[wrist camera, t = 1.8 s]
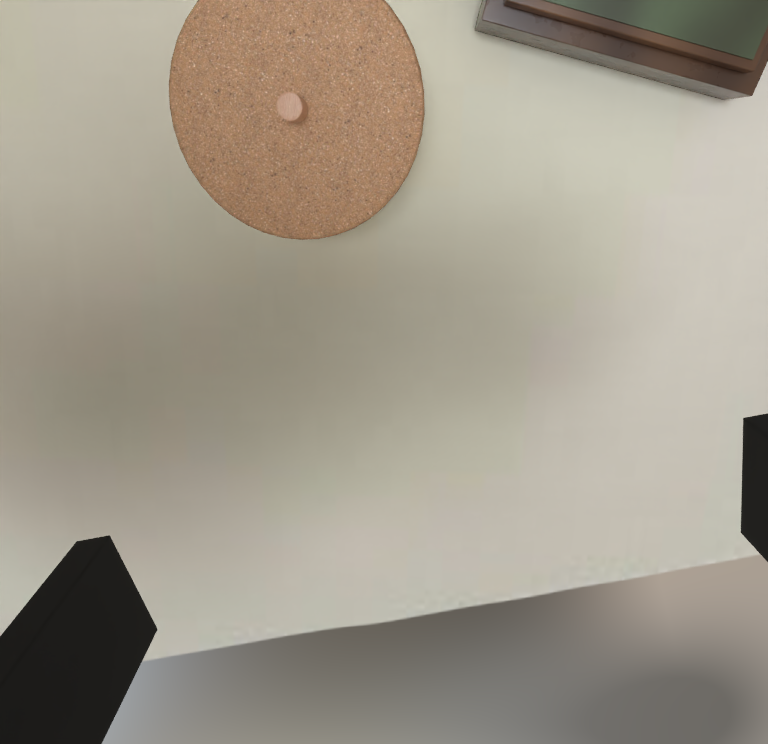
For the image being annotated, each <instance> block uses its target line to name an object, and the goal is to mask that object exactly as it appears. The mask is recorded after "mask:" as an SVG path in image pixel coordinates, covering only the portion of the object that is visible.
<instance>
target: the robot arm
mask: <svg viewBox="0 0 768 744" xmlns="http://www.w3.org/2000/svg"><path fill="white" fill-rule="evenodd" d="M741 533H742V534H743V535H744V536H745V538H746V539H747V540H748V541H749V542H750V543H751V544H752V545H753V546H754V547H755V548H756V550H757V551H758V552H759V553H760V554H761V555H762V556H763V557H764V558H765V559H766V561H767V562H768V414H763V415H758V416H752V417H747V418H744V419H743V464H742V509H741ZM156 631H157V627H156V625H155V623H154V621H153V619H152V618H151V616H150V614H149V612H148V610H147V608H146V606H145V604H144V602H143V600H142V598H141V596H140V594H139V592H138V590H137V588H136V586H135V584H134V582H133V580H132V578H131V576H130V574H129V573H128V571H127V569H126V567H125V565H124V563H123V561H122V559H121V557H120V555H119V553H118V551H117V549H116V547H115V545H114V543H113V541H112V539H111V537H110V535H109V536H104V537H99V538H93V539H88V540H82V541H77V542H76V543H75V544H74V546H73V547H72V548H71V549H70V551H69V552H68V553H67V554H66V556H65V557H64V558H63V559H62V561H61V562H60V563H59V564H58V565H57V567H56V568H55V569H54V570H53V572H52V573H51V574H50V575H49V577H48V578H47V579H46V580H45V582H44V583H43V584H42V585H41V587H40V588H39V589H38V590H37V592H36V593H35V594H34V595H33V597H32V598H31V599H30V600H29V602H28V603H27V604H26V605H25V606H24V608H23V609H22V610H21V611H20V613H19V614H18V615H17V616H16V618H15V619H14V620H13V621H12V623H11V624H10V625H9V626H8V628H7V629H6V630H5V631H4V633H3V634H2V635H1V636H0V744H101V743H102V741H103V739H104V737H105V735H106V733H107V731H108V729H109V727H110V725H111V723H112V721H113V719H114V717H115V715H116V713H117V711H118V709H119V707H120V705H121V703H122V701H123V699H124V697H125V695H126V693H127V691H128V689H129V686H130V684H131V682H132V680H133V678H134V676H135V674H136V672H137V670H138V668H139V666H140V664H141V662H142V660H143V658H144V656H145V654H146V652H147V650H148V648H149V646H150V644H151V642H152V639H153V637H154V635H155V633H156Z"/></svg>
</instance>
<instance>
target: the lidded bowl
mask: <svg viewBox="0 0 768 744" xmlns="http://www.w3.org/2000/svg"><path fill="white" fill-rule="evenodd" d="M169 97H170V110H171V115H172V121H173V127H174V130H175V133H176V136H177V140H178V143H179V146H180V149H181V151H182V153H183V155H184V157H185V159H186V161H187V163H188V165H189V168H190V169H191V171H192V172H193V174H194V175H195V177H196V178H197V180H198V181H199V183H200V184H201V186H202V187H203V188H204V189H205V190H206V191H207V193H208V194H209V195H210V196H211V197H212V198H213V199H214V201H215V202H217V203H218V204H219V205H220V206H221V207H222V208H224V209H225V210H226V211H227V212H228V213H229V214H231V215H232V216H234V217H235V218H237V219H238V220H240V221H242V222H243V223H245V224H246V225H248V226H251V227H253V228H255V229H257V230H260V231H262V232H264V233H268V234H271V235H275V236H279V237H282V238H291V239H300V240H301V239H320V238H324V237H329V236H334V235H338V234H340V233H343V232H345V231H348V230H350V229H353V228H355V227H357V226H358V225H360V224H362V223H363V222H365V221H367V220H368V219H370V218H371V217H372V216H374V215H375V214H376V213H377V212H378V211H380V210H381V209H382V208H383V207H384V206H385V205H386V204H387V203H388V202H389V201H390V199H391V198H392V197H393V196H394V195H395V194H396V193H397V191H398V190H399V188H400V187H401V185H402V183H403V182H404V180H405V179H406V177H407V175H408V173H409V171H410V169H411V167H412V164H413V162H414V160H415V157H416V155H417V151H418V147H419V144H420V140H421V136H422V129H423V121H424V89H423V82H422V76H421V70H420V66H419V63H418V60H417V57H416V54H415V50H414V47H413V45H412V43H411V41H410V39H409V37H408V35H407V32H406V30H405V28H404V26H403V25H402V23H401V22H400V20H399V19H398V17H397V16H396V14H395V13H394V11H393V10H392V8H391V7H390V6H389V5H388V4H387V3H386V1H385V0H198V1H197V3H196V5H195V6H194V8H193V9H192V11H191V12H190V14H189V15H188V17H187V18H186V20H185V23H184V25H183V27H182V29H181V32H180V34H179V36H178V39H177V42H176V46H175V49H174V53H173V57H172V61H171V70H170V79H169Z"/></svg>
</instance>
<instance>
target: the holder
mask: <svg viewBox="0 0 768 744" xmlns="http://www.w3.org/2000/svg"><path fill="white" fill-rule="evenodd" d="M475 30H476V31H480V32H484V33H487V34H491V35H494V36H498V37H501V38H505V39H509V40H512V41H516V42H519V43H523V44H527V45H530V46H534V47H537V48H541V49H544V50H548V51H552V52H555V53H559V54H562V55H566V56H569V57H573V58H577V59H580V60H584V61H587V62H591V63H594V64H598V65H602V66H605V67H609V68H612V69H616V70H620V71H623V72H627V73H630V74H634V75H637V76H641V77H645V78H648V79H652V80H655V81H659V82H662V83H666V84H670V85H673V86H677V87H680V88H684V89H687V90H691V91H695V92H698V93H702V94H705V95H709V96H713V97H716V98H720V99H723V100H728V99H734V98H741V97H747V96H752V95H753V93H754V90H755V88H756V86H757V84H758V81H759V79H760V77H761V75H762V72H763V70H764V68H765V66H766V63H767V61H768V0H482V4H481V8H480V11H479V15H478V19H477V23H476V27H475Z"/></svg>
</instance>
